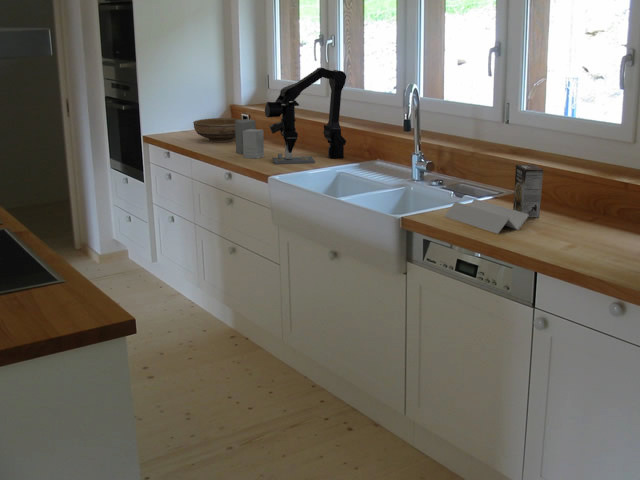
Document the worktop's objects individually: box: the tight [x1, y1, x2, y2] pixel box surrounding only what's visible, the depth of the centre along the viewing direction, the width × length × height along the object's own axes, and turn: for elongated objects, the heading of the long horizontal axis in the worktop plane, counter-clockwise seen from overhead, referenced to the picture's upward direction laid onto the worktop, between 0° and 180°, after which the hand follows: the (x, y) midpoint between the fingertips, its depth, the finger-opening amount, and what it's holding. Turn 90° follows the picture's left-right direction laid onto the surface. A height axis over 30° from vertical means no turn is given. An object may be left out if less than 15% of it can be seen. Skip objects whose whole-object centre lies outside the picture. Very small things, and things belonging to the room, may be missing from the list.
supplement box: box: [243, 128, 265, 159], centre depth 365 cm, size 7×7×13 cm
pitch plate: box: [271, 153, 316, 165], centre depth 356 cm, size 18×12×4 cm, turn 98°
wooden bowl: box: [192, 117, 245, 143], centre depth 414 cm, size 37×29×10 cm
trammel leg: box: [284, 144, 293, 159], centre depth 355 cm, size 3×3×6 cm
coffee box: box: [512, 163, 544, 219], centre depth 259 cm, size 9×6×16 cm
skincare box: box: [235, 118, 257, 155], centre depth 376 cm, size 8×7×16 cm
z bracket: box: [444, 198, 529, 234], centre depth 251 cm, size 12×25×6 cm
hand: (288, 150), depth 354 cm, fingers open, 9 cm apart
